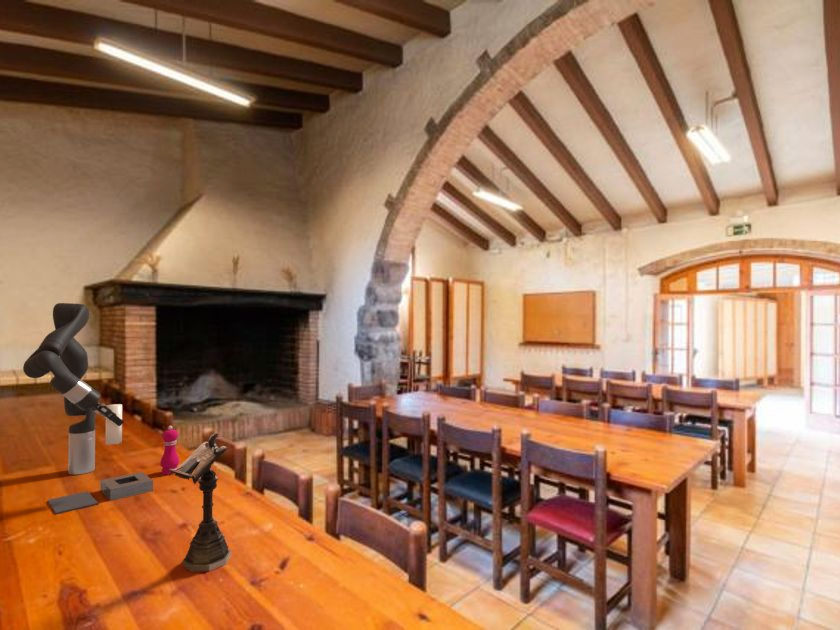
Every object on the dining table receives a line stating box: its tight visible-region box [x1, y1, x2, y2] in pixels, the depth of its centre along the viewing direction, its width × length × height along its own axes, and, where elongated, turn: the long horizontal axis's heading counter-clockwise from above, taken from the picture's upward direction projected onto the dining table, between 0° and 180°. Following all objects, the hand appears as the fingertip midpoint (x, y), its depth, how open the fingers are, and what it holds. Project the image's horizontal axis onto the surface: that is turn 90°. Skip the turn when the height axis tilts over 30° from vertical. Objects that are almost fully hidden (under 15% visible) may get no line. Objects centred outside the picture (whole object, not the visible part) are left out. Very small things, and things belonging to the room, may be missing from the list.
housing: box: [100, 471, 154, 501], centre depth 182 cm, size 14×14×4 cm
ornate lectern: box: [168, 432, 232, 573], centre depth 128 cm, size 17×13×35 cm
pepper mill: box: [160, 425, 180, 476], centre depth 204 cm, size 7×7×20 cm
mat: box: [47, 490, 99, 515], centre depth 170 cm, size 16×12×1 cm
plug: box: [104, 403, 123, 445], centre depth 179 cm, size 5×5×14 cm
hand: (119, 422), depth 181 cm, fingers closed on plug, 5 cm apart
